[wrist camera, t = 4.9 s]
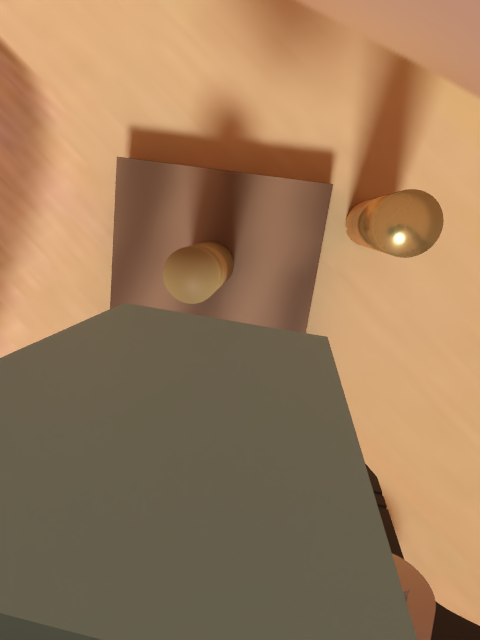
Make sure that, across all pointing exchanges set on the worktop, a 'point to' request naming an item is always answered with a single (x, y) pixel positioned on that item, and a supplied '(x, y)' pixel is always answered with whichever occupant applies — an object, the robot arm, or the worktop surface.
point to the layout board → (217, 242)
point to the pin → (397, 223)
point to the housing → (187, 488)
